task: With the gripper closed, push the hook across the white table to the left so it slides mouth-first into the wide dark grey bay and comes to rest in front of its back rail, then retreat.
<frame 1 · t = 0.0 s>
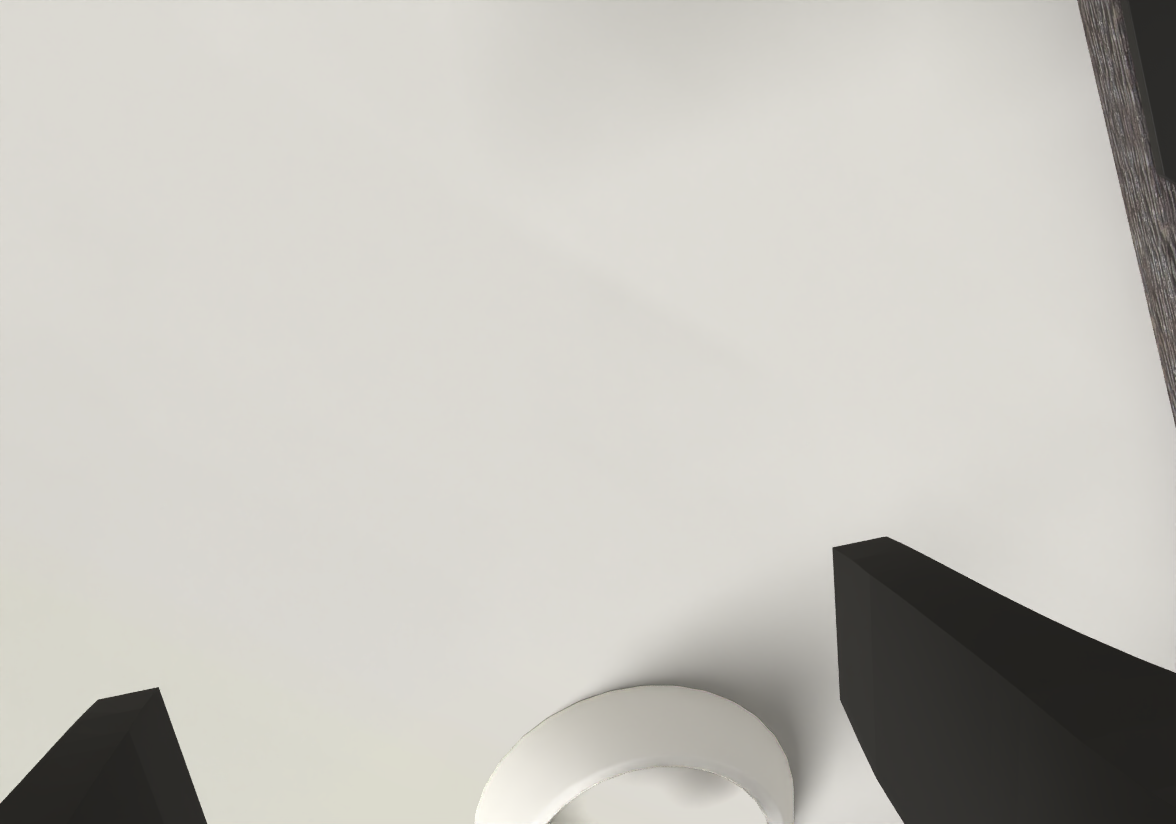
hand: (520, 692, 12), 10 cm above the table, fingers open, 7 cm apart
hook: (633, 813, 26), on the table
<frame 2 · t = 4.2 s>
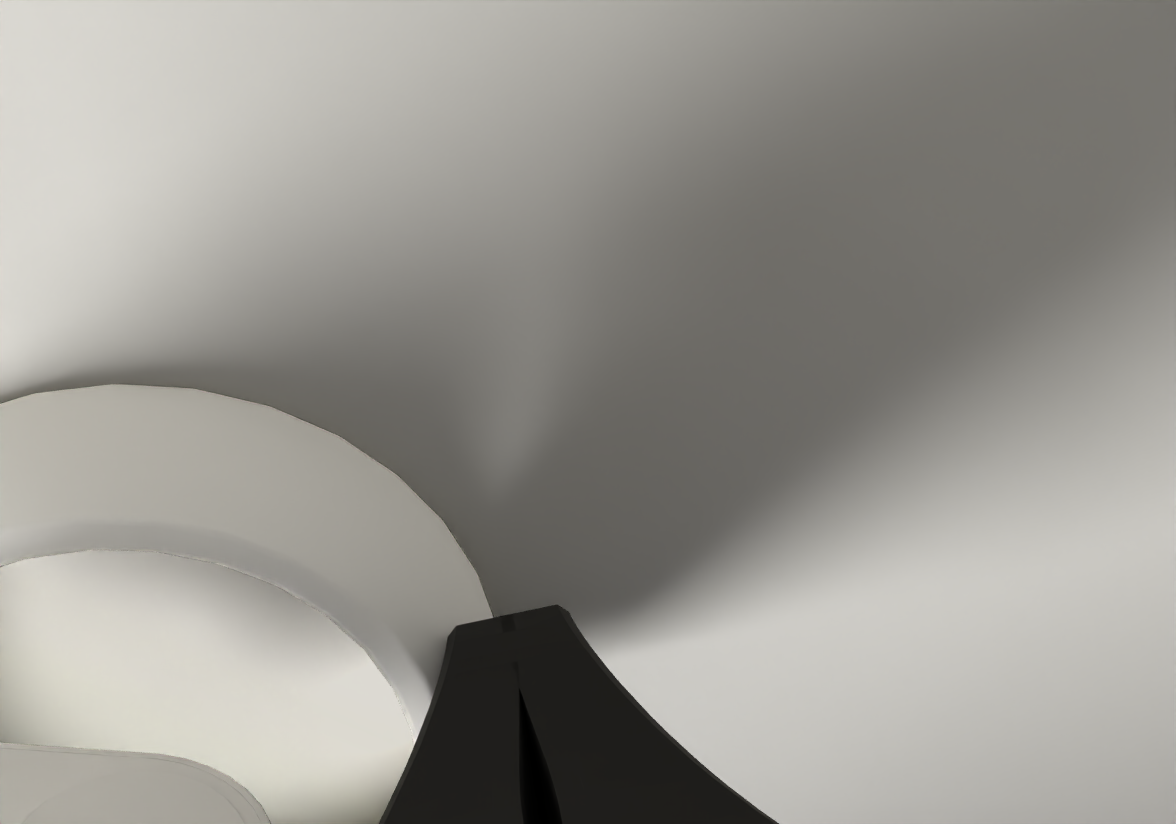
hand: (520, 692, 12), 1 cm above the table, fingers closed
hook: (162, 693, 13), on the table, touching gripper
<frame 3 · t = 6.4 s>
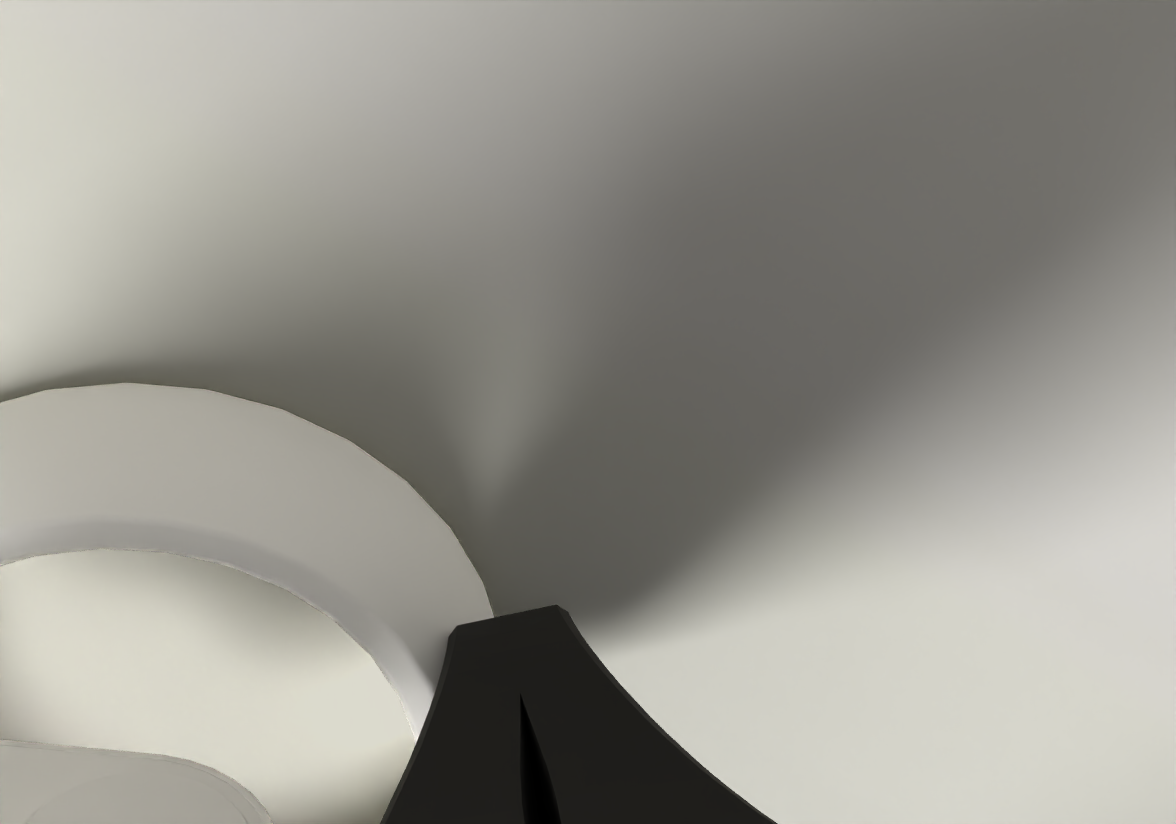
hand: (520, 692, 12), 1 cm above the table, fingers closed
hook: (162, 693, 12), on the table, touching gripper
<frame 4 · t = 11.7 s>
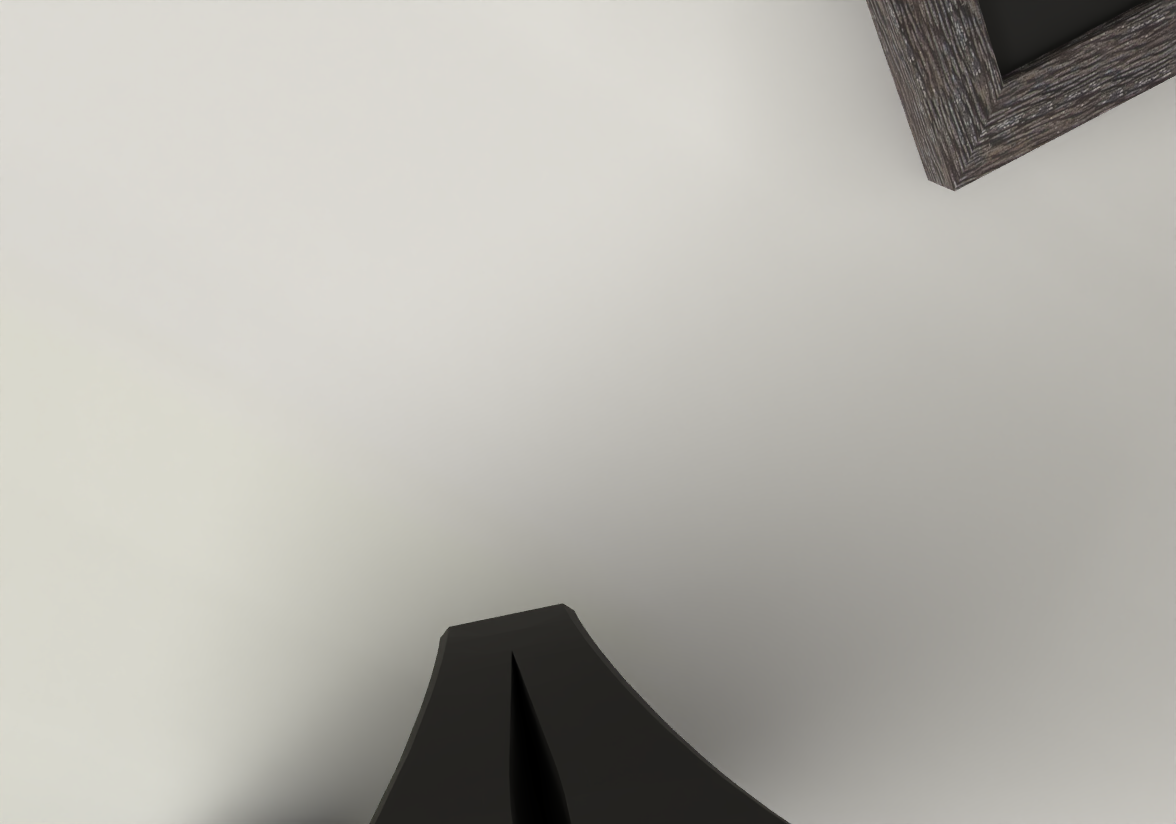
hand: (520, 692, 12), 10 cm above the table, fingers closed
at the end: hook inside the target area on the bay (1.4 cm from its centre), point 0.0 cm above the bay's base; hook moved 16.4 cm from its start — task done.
